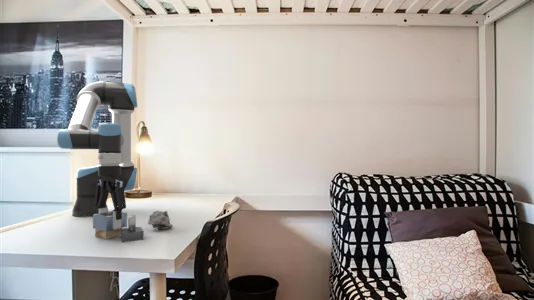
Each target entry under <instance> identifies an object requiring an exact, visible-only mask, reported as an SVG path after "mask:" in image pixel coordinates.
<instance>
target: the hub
mask: <svg viewBox="0 0 534 300" xmlns="http://www.w3.org/2000/svg"><path fill="white" fill-rule="evenodd" d="M136 218H137V215H135V214H132V215H127V226H128V227H123V228H122V229H121V235H120V239H121V243H125V242H126V243H128V242H133V241H142V240H144V235H145V234H144V231H145V230H144V229H143V227H142V226H137V224H136V223H137V219H136Z"/></svg>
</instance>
